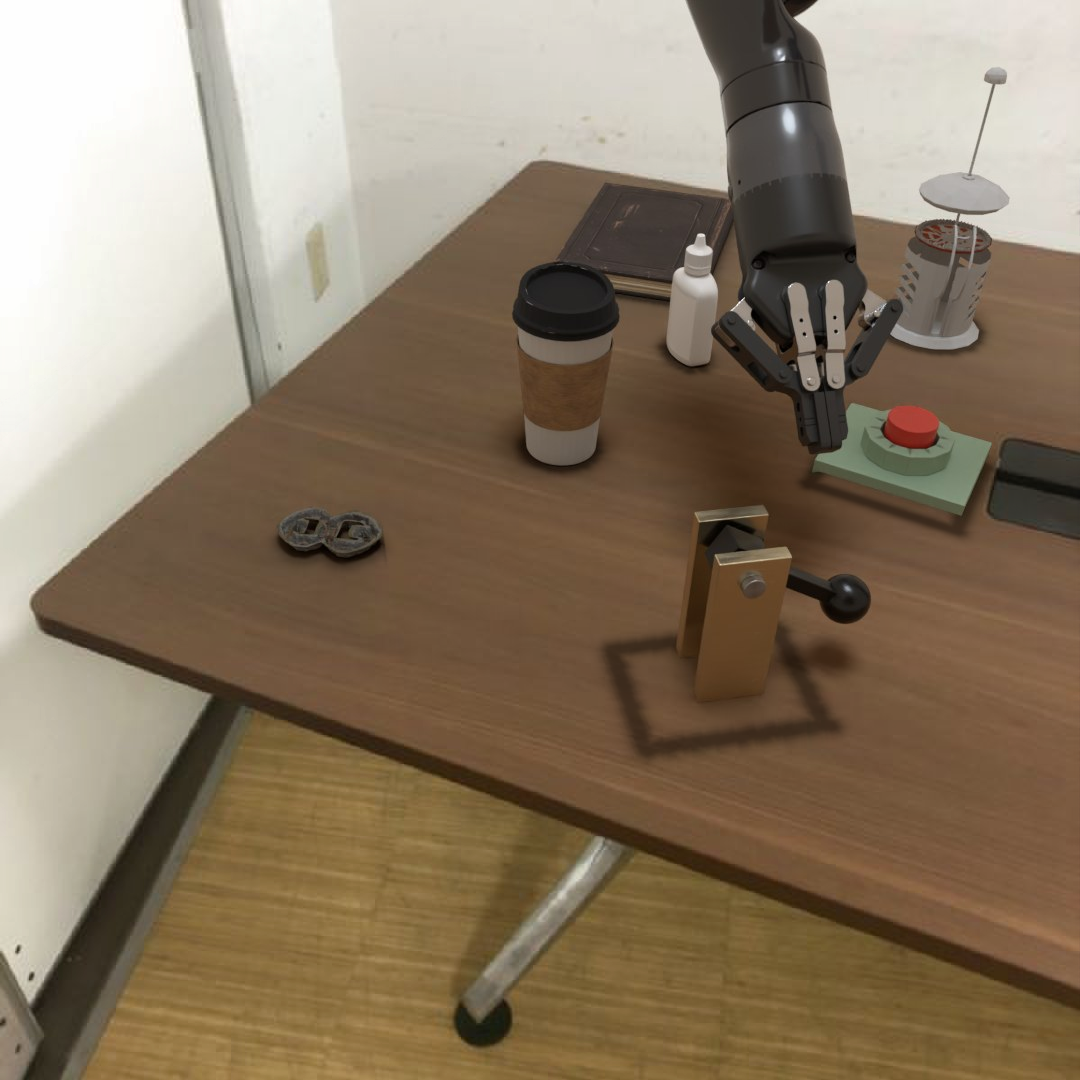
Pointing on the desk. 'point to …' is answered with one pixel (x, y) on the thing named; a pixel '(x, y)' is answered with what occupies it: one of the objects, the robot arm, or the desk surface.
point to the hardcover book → (645, 236)
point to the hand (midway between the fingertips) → (826, 451)
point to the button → (911, 427)
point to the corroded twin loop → (330, 531)
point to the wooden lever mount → (731, 606)
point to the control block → (907, 462)
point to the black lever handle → (805, 580)
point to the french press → (949, 256)
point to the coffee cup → (564, 357)
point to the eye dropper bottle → (693, 306)
